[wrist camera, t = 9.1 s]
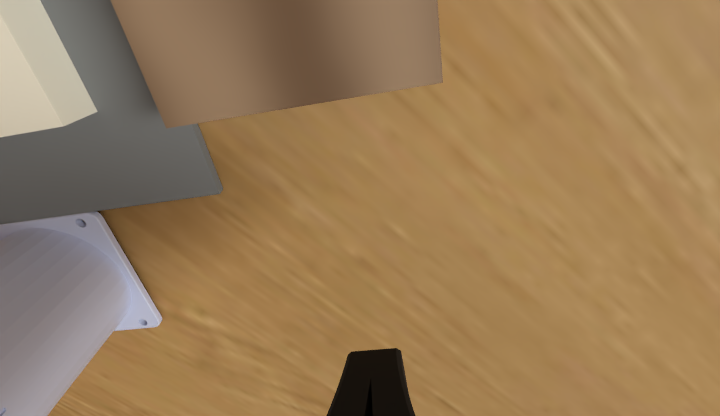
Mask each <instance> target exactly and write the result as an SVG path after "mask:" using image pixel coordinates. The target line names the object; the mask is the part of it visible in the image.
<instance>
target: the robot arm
mask: <svg viewBox="0 0 720 416" xmlns="http://www.w3.org/2000/svg"><path fill="white" fill-rule="evenodd" d="M81 219H82V220H84V221H85V222H86V223H85V222H83V221H82V220H81ZM161 321H162V317H161V315H160V313H159V312H158V310H157V308H156V306H155V305H154V303H153V301H152V300H151V298H150V296H149V294H148V293H147V291H146V289H145V288H144V286H143V284H142V283H141V281H140V279H139V277H138V276H137V274H136V272H135V271H134V269H133V267H132V266H131V264H130V262H129V260H128V259H127V257H126V255H125V254H124V252H123V250H122V249H121V247H120V245H119V243H118V242H117V240H116V238H115V237H114V235H113V233H112V231H111V230H110V228H109V226H108V225H107V223H106V221H105V220H104V218H103V216H102V215H101V214H100V213H98V212H97V211H94V212H86V213H79V214H72V215H65V216H58V217H50V218H43V219H36V220H29V221H22V222H15V223H7V224H0V416H47V415H48V414H49V413H50V411H51V410H52V409H53V408H54V406H55V405H56V404H57V402H58V401H59V400H60V399H61V397H62V396H63V395H64V393H65V392H66V391H67V390H68V388H69V387H70V386H71V385H72V383H73V382H74V381H75V379H76V378H77V377H78V376H79V374H80V373H81V372H82V371H83V369H84V368H85V367H86V365H87V364H88V363H89V362H90V360H91V359H92V358H93V356H94V355H95V354H96V353H97V351H98V350H99V349H100V348H101V346H102V345H103V344H104V342H105V341H106V340H107V339H108V337H109V336H110V335H111V333H112V332H113V331H118V330H129V329H139V328H150V327H157V326H158V325H159V324H160V323H161ZM327 416H415V413H414V411H413V407H412V404H411V401H410V397H409V394H408V388H407V382H406V377H405V371H404V366H403V360H402V354H401V351H400V350H398V349H397V348H393V349H380V350H368V351H355V352H351V353H350V354H348V357H347V360H346V364H345V367H344V370H343V373H342V376H341V379H340V382H339V385H338V388H337V391H336V393H335V396H334V399H333V401H332V404H331V406H330V409H329V411H328V414H327Z"/></svg>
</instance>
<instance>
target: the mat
mask: <svg viewBox="0 0 720 416" xmlns="http://www.w3.org/2000/svg"><path fill="white" fill-rule="evenodd" d="M40 1H41V3H42V5H43V7H44V9H45V11H46V13H47V14H48V16H49V18H50V20H51V22H52V24H53V26H54V28H55V30H56V32H57V34H58V36H59V38H60V40H61V42H62V44H63V46H64V47H65V49H66V51H67V53H68V55H69V57H70V59H71V61H72V63H73V65H74V67H75V69H76V71H77V73H78V75H79V77H80V78H81V80H82V82H83V84H84V86H85V88H86V90H87V92H88V94H89V96H90V98H91V100H92V102H93V104H94V106H95V108H96V109H97V111H98V112H96V113H94V114H91V115H89V116H87V117H84V118H82V119H80V120H77V121H75V122H73V123H70V124H68V125H66V126H63V127H57V128H51V129H46V130H40V131H34V132H28V133H23V134H17V135H11V136H6V137H0V224H7V223H15V222H22V221H29V220H36V219H43V218H50V217H58V216H65V215H72V214H79V213H86V212H94V211H101V210H108V209H115V208H122V207H129V206H137V205H144V204H151V203H158V202H165V201H172V200H180V199H187V198H194V197H201V196H208V195H215V194H220V193H221V191H222V190H223V187H222V185H221V182H220V180H219V177H218V174H217V172H216V169H215V167H214V164H213V162H212V159H211V157H210V154H209V151H208V149H207V146H206V144H205V141H204V139H203V136H202V134H201V131H200V128H199V126H198V123H196V124H190V125H184V126H178V127H172V128H166V127H165V124H164V122H163V120H162V117H161V115H160V113H159V110H158V108H157V106H156V104H155V101H154V99H153V97H152V94H151V92H150V90H149V88H148V85H147V83H146V81H145V78H144V76H143V74H142V71H141V69H140V67H139V65H138V62H137V60H136V58H135V55H134V53H133V51H132V48H131V46H130V44H129V42H128V39H127V37H126V35H125V32H124V30H123V28H122V25H121V23H120V21H119V19H118V16H117V14H116V12H115V9H114V7H113V5H112V3H111V0H40Z"/></svg>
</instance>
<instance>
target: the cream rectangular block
mask: <svg viewBox="0 0 720 416" xmlns="http://www.w3.org/2000/svg"><path fill="white" fill-rule="evenodd" d="M96 112H98V111H97V109H96V108H95V106H94V104H93V102H92V100H91V98H90V96H89V94H88V92H87V90H86V88H85V86H84V84H83V82H82V80H81V78H80V77H79V75H78V73H77V71H76V69H75V67H74V65H73V63H72V61H71V59H70V57H69V55H68V53H67V51H66V49H65V47H64V46H63V44H62V42H61V40H60V38H59V36H58V34H57V32H56V30H55V28H54V26H53V24H52V22H51V20H50V18H49V16H48V14H47V13H46V11H45V9H44V7H43V5H42V3H41V1H40V0H0V137H6V136H11V135H17V134H23V133H28V132H34V131H40V130H46V129H51V128H57V127H63V126H66V125H68V124H70V123H73V122H75V121H77V120H80V119H82V118H84V117H87V116H89V115H91V114H94V113H96Z"/></svg>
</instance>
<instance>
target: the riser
mask: <svg viewBox="0 0 720 416" xmlns="http://www.w3.org/2000/svg"><path fill="white" fill-rule="evenodd" d="M111 3H112V5H113V7H114V9H115V12H116V14H117V16H118V19H119V21H120V23H121V25H122V28H123V30H124V32H125V35H126V37H127V39H128V42H129V44H130V46H131V48H132V51H133V53H134V55H135V58H136V60H137V62H138V65H139V67H140V69H141V71H142V74H143V76H144V78H145V81H146V83H147V85H148V88H149V90H150V92H151V94H152V97H153V99H154V101H155V104H156V106H157V108H158V110H159V113H160V115H161V117H162V120H163V122H164V124H165V127H166V128H172V127H178V126H184V125H190V124H196V123H202V122H208V121H214V120H220V119H226V118H232V117H238V116H245V115H251V114H257V113H263V112H269V111H275V110H281V109H287V108H293V107H299V106H305V105H311V104H317V103H323V102H329V101H335V100H341V99H347V98H353V97H359V96H365V95H371V94H377V93H383V92H389V91H395V90H401V89H407V88H413V87H419V86H425V85H431V84H437V83H443V78H442V63H441V48H440V33H439V18H438V3H437V0H111Z"/></svg>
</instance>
